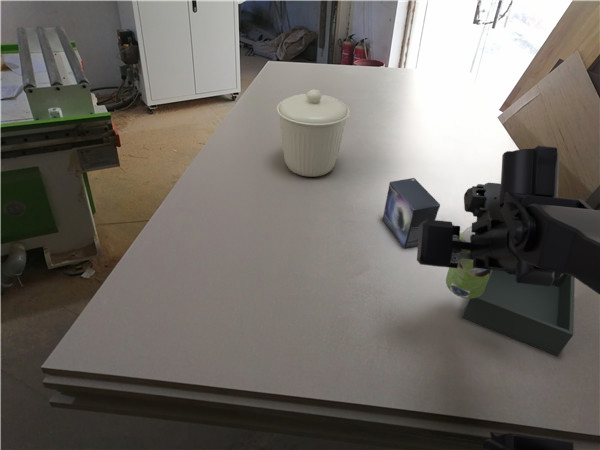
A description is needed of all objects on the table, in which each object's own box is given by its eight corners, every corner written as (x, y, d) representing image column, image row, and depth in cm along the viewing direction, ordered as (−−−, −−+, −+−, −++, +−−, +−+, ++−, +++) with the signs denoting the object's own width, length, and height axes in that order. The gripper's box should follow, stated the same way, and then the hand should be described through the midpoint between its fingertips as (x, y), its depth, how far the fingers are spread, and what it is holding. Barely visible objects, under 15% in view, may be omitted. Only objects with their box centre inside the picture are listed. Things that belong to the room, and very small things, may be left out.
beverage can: (488, 290, 67) (517, 234, 59) (465, 312, 62) (493, 255, 55) (455, 269, 70) (478, 214, 63) (431, 288, 66) (453, 231, 59)
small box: (380, 219, 92) (387, 180, 86) (405, 215, 94) (414, 176, 87) (402, 249, 84) (413, 208, 78) (429, 244, 86) (442, 204, 80)
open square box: (557, 356, 65) (573, 334, 62) (461, 317, 71) (471, 295, 67) (561, 288, 77) (575, 267, 74) (479, 260, 83) (488, 239, 79)
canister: (327, 147, 119) (333, 75, 106) (354, 179, 106) (365, 100, 93) (268, 156, 114) (267, 80, 101) (288, 189, 100) (290, 108, 87)
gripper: (597, 186, 48) (531, 208, 64) (438, 171, 50) (411, 196, 65) (595, 280, 47) (528, 279, 62) (431, 261, 48) (405, 265, 64)
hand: (467, 253), depth 63 cm, fingers closed on beverage can, 6 cm apart
